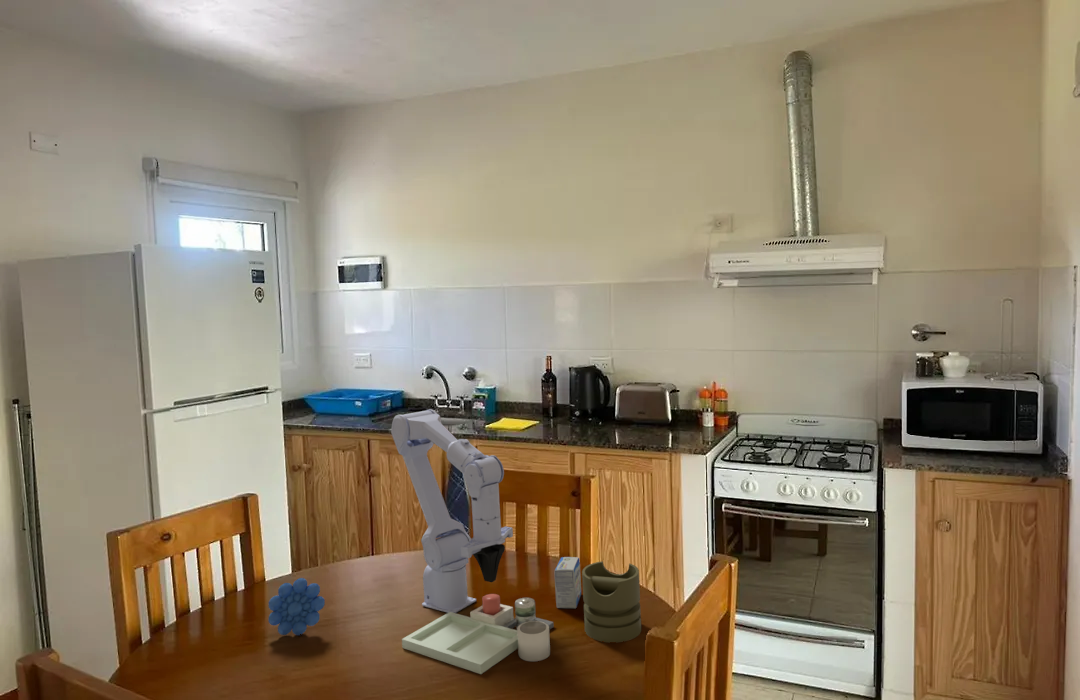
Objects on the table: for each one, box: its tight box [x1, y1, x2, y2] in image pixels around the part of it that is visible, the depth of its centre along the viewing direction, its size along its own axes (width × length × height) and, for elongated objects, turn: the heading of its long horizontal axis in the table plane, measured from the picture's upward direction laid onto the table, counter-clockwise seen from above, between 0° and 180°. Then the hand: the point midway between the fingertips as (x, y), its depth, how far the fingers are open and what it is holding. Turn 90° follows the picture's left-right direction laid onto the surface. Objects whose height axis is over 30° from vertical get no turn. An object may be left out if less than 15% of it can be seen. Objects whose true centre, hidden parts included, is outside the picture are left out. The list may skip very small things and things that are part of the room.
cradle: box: [503, 617, 555, 631], centre depth 149 cm, size 8×8×1 cm
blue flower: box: [268, 577, 326, 636], centre depth 152 cm, size 12×7×12 cm, turn 94°
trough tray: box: [401, 612, 518, 675], centre depth 144 cm, size 20×14×2 cm
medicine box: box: [553, 556, 582, 610], centre depth 161 cm, size 8×4×9 cm, turn 168°
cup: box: [517, 621, 551, 662], centre depth 139 cm, size 6×6×5 cm
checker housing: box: [469, 603, 515, 626], centre depth 152 cm, size 6×6×3 cm
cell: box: [514, 597, 537, 630], centre depth 148 cm, size 4×4×6 cm
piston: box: [581, 560, 642, 643], centre depth 147 cm, size 11×12×11 cm
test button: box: [481, 593, 501, 616], centre depth 152 cm, size 4×4×4 cm
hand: (490, 580), depth 152 cm, fingers closed
